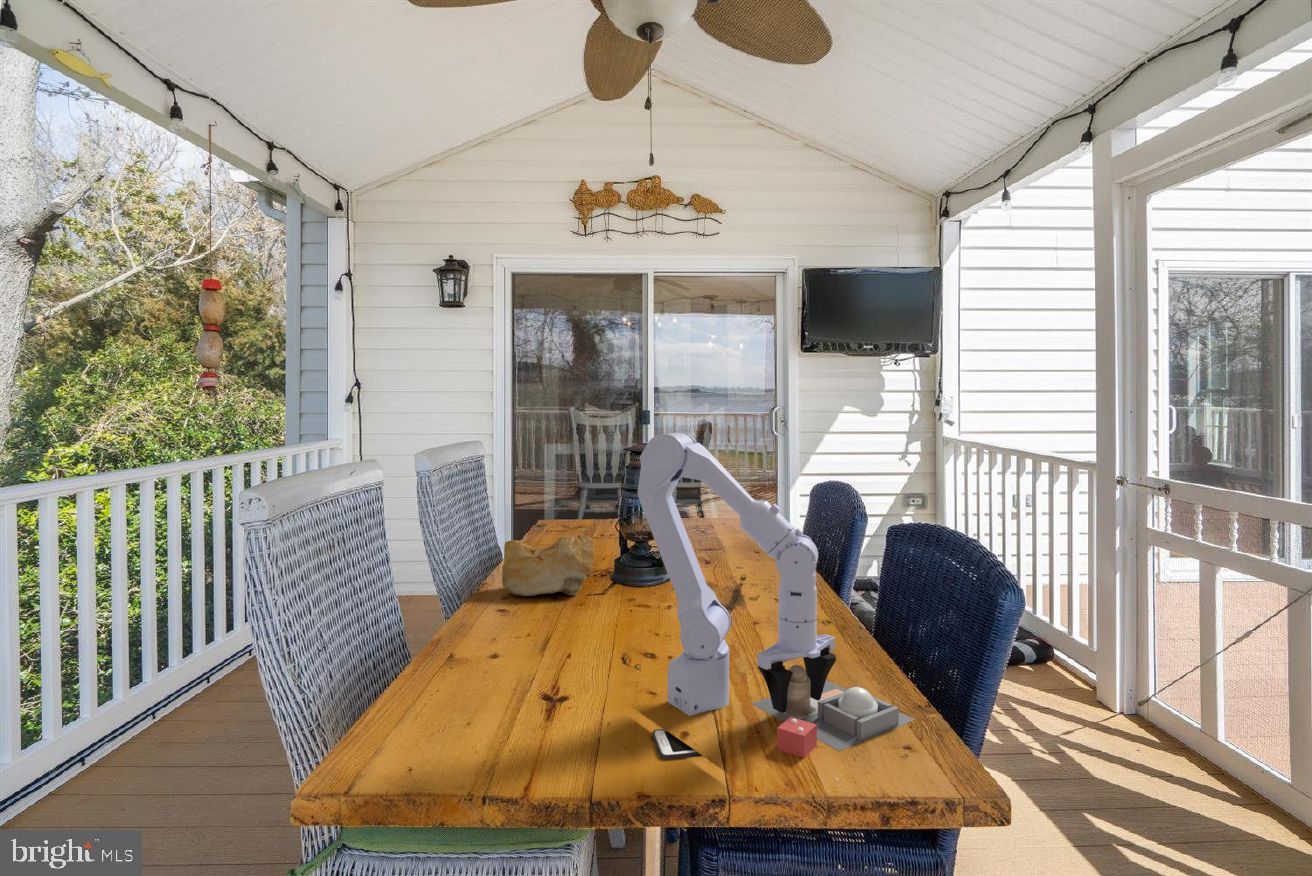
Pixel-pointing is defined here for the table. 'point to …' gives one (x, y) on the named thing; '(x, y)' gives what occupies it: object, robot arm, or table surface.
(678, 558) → the robot arm
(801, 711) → the pawn
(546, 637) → the table surface
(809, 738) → the red die
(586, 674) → the table surface
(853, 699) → the dome
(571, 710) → the table surface
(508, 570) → the rough brown rock
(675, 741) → the cell phone
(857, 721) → the game board
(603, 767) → the table surface
